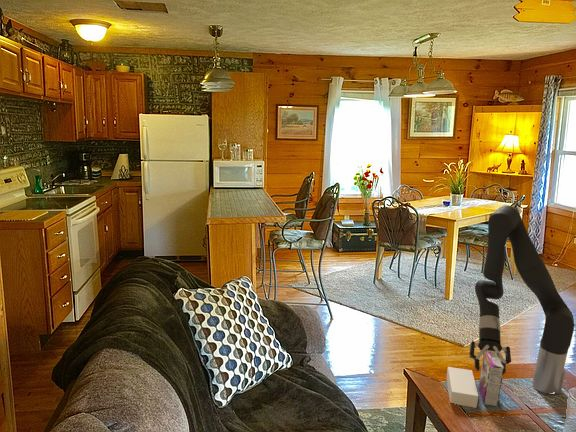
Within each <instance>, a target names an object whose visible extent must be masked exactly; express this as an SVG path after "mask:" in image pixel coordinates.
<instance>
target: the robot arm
mask: <svg viewBox="0 0 576 432" xmlns="http://www.w3.org/2000/svg"><path fill="white" fill-rule="evenodd" d="M487 225H488V227H487V233H488V234H487V235H488V237H487V251H486V255H485V256H486V257H485V260H484V266H483V270H482V271H483V272H482V275H483V277H484V278H485V279H487V280H485V279H484V280H483V279H481V280H478V281H476V283H475V285H474V290H475V294H476V295H475V296H476V298H477V301H478V306H479V321H478V334H479V336H478V342H475V341H474V340H471V342H470V343H469V358H470V359H472V360H474V369H475V370H476V371H477V372H479V371H480V359H481V357H483V355H484V350H492V351H497V352H498V354H499V357H500V359H501V362H502V364H503V367H504V370H503V375H505V374H506V370H507V369H506V368H507V367H506V366H507V365H509V364H510V363H511V362H512V356H511V348H510V346H508V345H507V346H502V344H501V323H500V307H499V305H498V304H497V303H495V302H492V301H489V300H500V299H501V298H502V297H503V296H504V291H505V290H504V285H503V275H504V274H503V273H504V270H505V265H506V253H505V249H506V243H507V240H509V243H510V244H511V248H512V255H513V261H514V265H515V268H516V270H517V272H518V273H519V275H520V277H521V279H522V280H523V282H524V284H525V285H526V287H527V288H529V290H530V291H531V292H532V294H534V295H535V297H536V298H537V299H538V302H539V304H540V306H541V308H542V310H543V313H544V317H545V320H544V326H543V331H542V336H541V338H540V343H539V349H538V351H537V358H536V363H535V366H534V367H535V368H534V372H533V377H532V383H531V385H532V384H533V385H532V387H533V388H534V389H535V390H537V391H538V392H540V393H542V394H546V395H548V394H547V393H553V392H555V393H557V394H558V395H561V394H562V389H563V385H564V380H565V376H566V370H565V367H566V361H567V356H568V352H569V348H570V347H571V343H572V340H573V337H574V336H573V334H574V329H575V319H574V314H573V312H572V311H571V309H570V308H569V307H568V305H567V304H566V302H565V301H564V299H563V298H562V296H561V295H560V294H559V292H558V290H557V288H556V284H555V283H554V280H553V278H552V276H551V274H550V271H549V270H548V268H547V266H546V264H545V263H544V261H543V259H542V258H541V256H540V253H539V252H538V250H537V248H536V246H535V245H534V243H533V241H532V239H531V237H530V236H529V233H528V231H527V229H526V226H525V223H524V221H523V218H522V216H521V213H519V211H518V210H517V209H516V208H515V207H514V206H512V205H501V206H499V208H498V209H496V210H495V211H494V212H492V213H491V215H490V216H489V218H488V223H487ZM488 299H489V300H488ZM477 347H478V349H479V350H480V351H479V353H478V354H477V355H476V354H475V349H476V348H477ZM501 351H503V353H504V354H505V358H504V357H503V355H502V353H501ZM557 394H556V395H557Z"/></svg>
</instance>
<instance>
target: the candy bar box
mask: <svg viewBox="0 0 576 432" xmlns="http://www.w3.org/2000/svg"><path fill="white" fill-rule="evenodd" d="M503 370H504V367H503V364H502V362H501V359H500V357H499V354H498V352H497V351H492V350H484V354H483V355H482V363H481V369H480V374H479V383H478V389H479V391H480V394H481V398H482V402H483V405H484V406H492V407H498V404H499V399H500V393H501V389H502V388H501V387H502V382H503V375H504V374H503Z"/></svg>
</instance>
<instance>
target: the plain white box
mask: <svg viewBox="0 0 576 432" xmlns="http://www.w3.org/2000/svg"><path fill="white" fill-rule="evenodd" d="M445 378H446V384H447V391H448V398H450V399H449V403H450V402H451V403H454V404H453V405H456V404H457V406H462V407H463V406H464V407H470V408H474V409H476V408H477V405H478V400H479V393H478V389H477V386H476V385H477V384H476V381H475V378H474V373H473V370H472V369H467V368H458V367H453V366H452V367H451V366H447V370H446V377H445Z"/></svg>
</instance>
